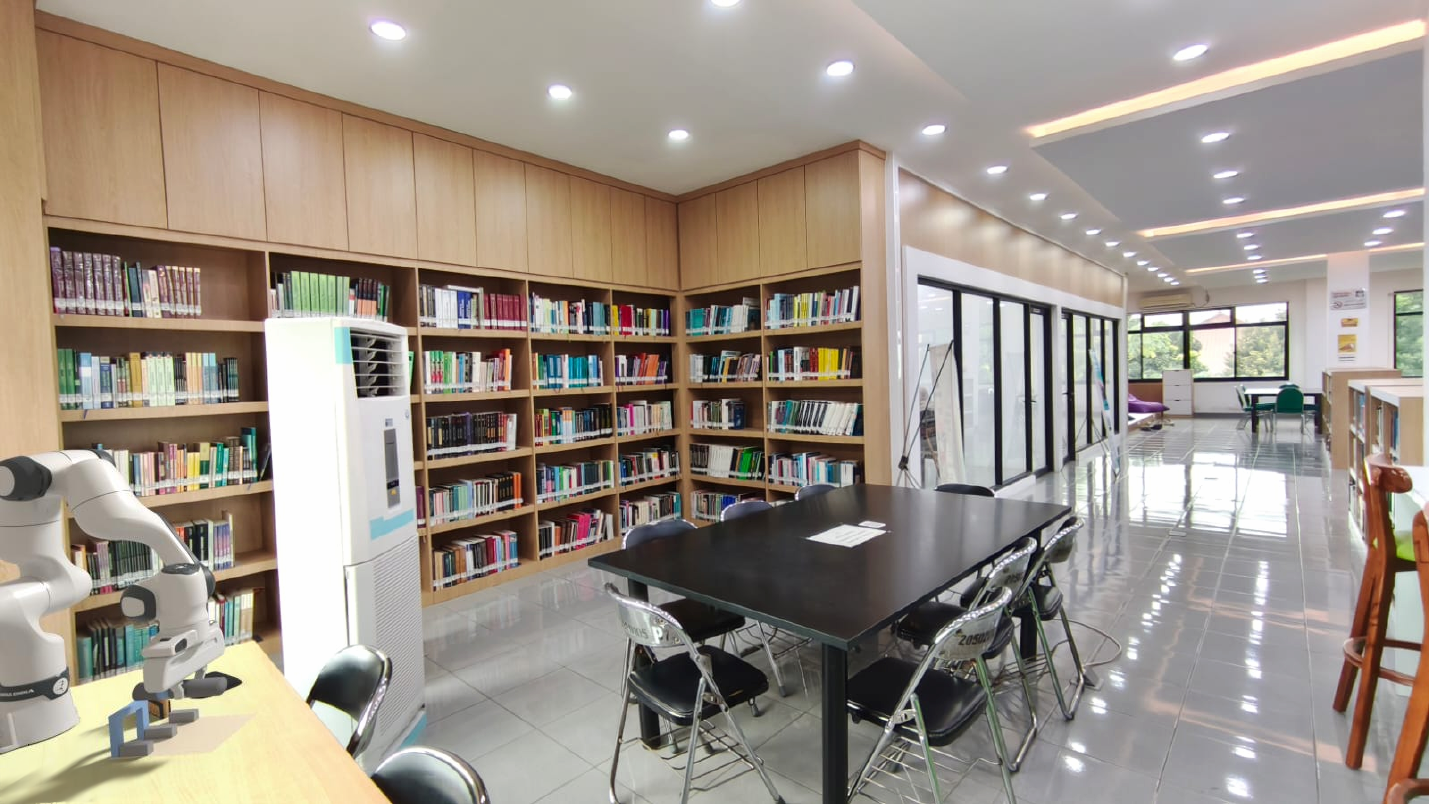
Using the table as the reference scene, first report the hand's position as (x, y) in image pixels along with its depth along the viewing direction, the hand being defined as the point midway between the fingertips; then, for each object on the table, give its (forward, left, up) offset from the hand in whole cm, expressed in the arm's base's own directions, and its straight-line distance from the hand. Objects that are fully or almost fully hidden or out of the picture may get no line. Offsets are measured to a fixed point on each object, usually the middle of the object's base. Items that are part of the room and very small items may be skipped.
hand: (189, 692), depth 146 cm
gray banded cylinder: (-2, 0, -1) cm, 2 cm away
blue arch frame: (-14, 0, -13) cm, 19 cm away
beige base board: (-4, +4, -13) cm, 14 cm away
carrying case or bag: (-16, +29, -14) cm, 36 cm away
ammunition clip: (-20, +16, -13) cm, 28 cm away
